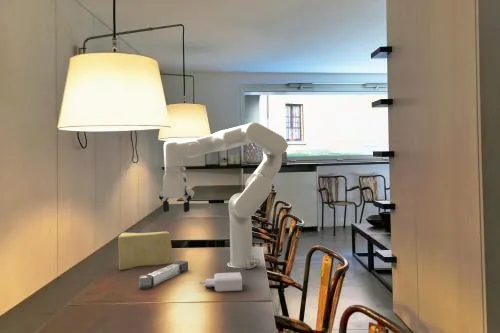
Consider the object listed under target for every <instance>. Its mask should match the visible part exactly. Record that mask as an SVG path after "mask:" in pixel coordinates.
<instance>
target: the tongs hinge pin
mask: <svg viewBox="0 0 500 333" xmlns="http://www.w3.org/2000/svg"><path fill="white" fill-rule="evenodd" d="M138 289H139V290H149V289H152V276H151V275H147V274H141V275H140V276H138Z"/></svg>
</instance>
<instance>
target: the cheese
mask: <svg viewBox="0 0 500 333" xmlns="http://www.w3.org/2000/svg"><path fill="white" fill-rule="evenodd" d="M170 234H171V233H170V232H168V231H158V232H157V231H156V232H141V233H140V232H122V233H120V234H119V236H118V238H117V242H118V243H117V244H118V270H119V271H122V270H123V271H124V270H125V271H126V270H131V269H134V268H135V267H142V266H144V267H145V266H157V265H158V266H159V265H172V263H173V249H172V242H171V235H170Z"/></svg>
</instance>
